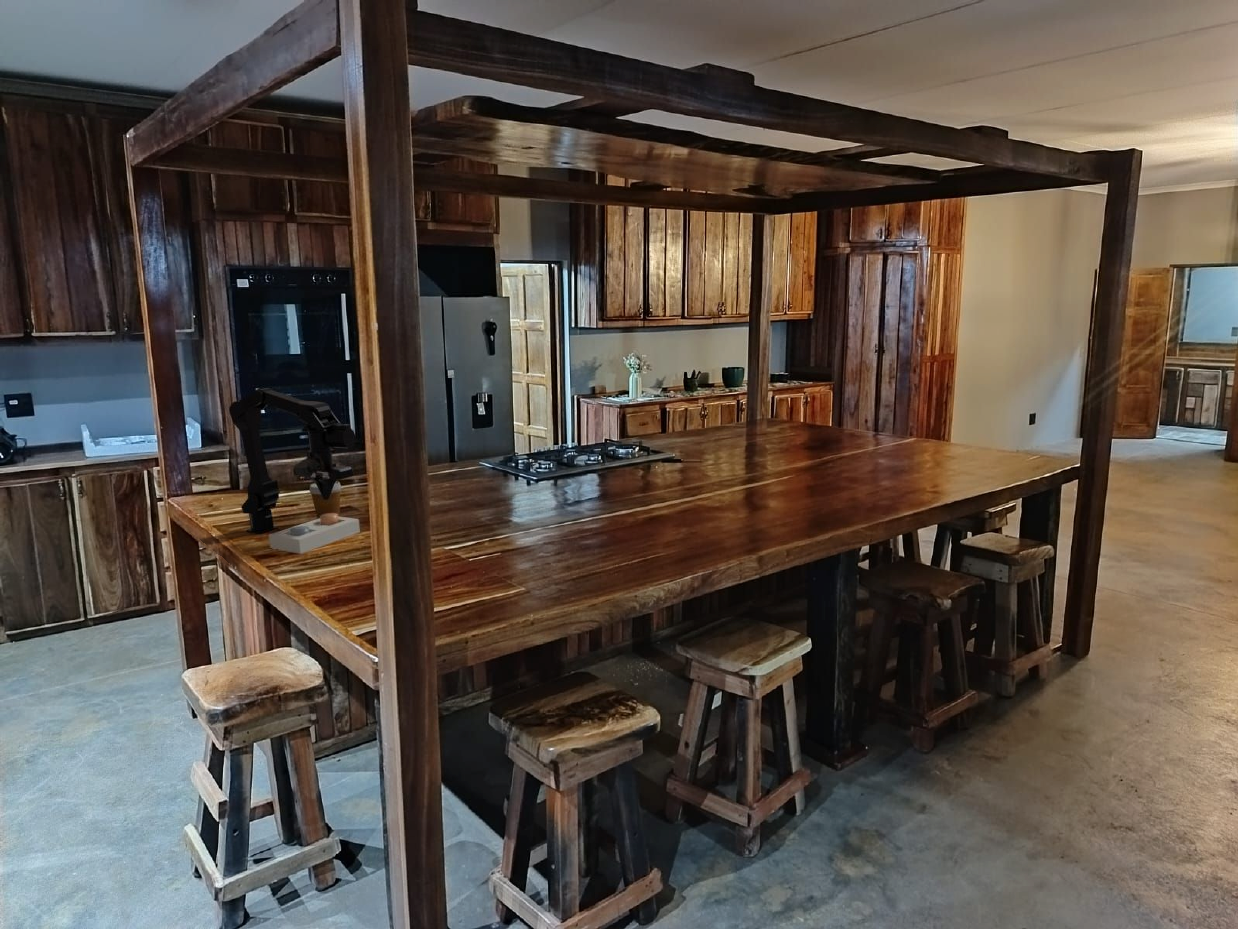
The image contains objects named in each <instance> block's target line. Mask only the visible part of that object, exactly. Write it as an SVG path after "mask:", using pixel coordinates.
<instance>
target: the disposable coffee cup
mask: <svg viewBox="0 0 1238 929" xmlns="http://www.w3.org/2000/svg"><path fill="white" fill-rule="evenodd" d="M342 487H343V486H342V485H341V483H340V481H338V480H336V482H335V484H334V486H333V489H332V492H331V494H330V497H329V499H328V500H324V499H323V497H322V495H321V493H320V491H319V489H318V487H317V485H316V483H315V482H313V483H311V484H310V485H309V492H310V495H311V498H312V499H311V500H312V503H313V507H314V510H315V515H316V519H319V518H320V516H321V515H323V514H327V513H337V514H338V516H339V517H341V516H340V515H341V514H340V512H341V490H342Z"/></svg>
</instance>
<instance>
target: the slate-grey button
mask: <svg viewBox="0 0 1238 929" xmlns="http://www.w3.org/2000/svg"><path fill="white" fill-rule="evenodd" d="M293 527H294V526H293ZM290 528H291V527H290ZM307 533H309V527H307V526H298V527H294V528H291V529H290V535H294V536H301V535H304V534H307Z"/></svg>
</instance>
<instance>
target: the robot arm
mask: <svg viewBox="0 0 1238 929" xmlns="http://www.w3.org/2000/svg"><path fill="white" fill-rule="evenodd" d="M267 406H268V407H272V408H275V409H278V410H281V411H283V412H287V413H290V414H293V415H295V416H296V417H297V418H298V419H299V420H300V421H302V422H303V423H305V424H306V425H305V426H304V427H303V428H302V429H301V432H302V433H308V440H309V441H308V442H309V449H310V450H309V451H306V458H305V459H303V460H301V461H299V462H298V463H297V464H295V465H294V466H293V476H297V478H306V479H308V480H311V481H312V482H313V483H316V485H317V487H318V489H319V491H320V493H321V495H322V497H323V499H324V500H328V499H329V497H330V494H331V492H332V489H333V486H334V484H335V482H336V481H339V480H344V479H348V478H352V477H354V469H353V468H352V467H351V466H346V465H340V466H337V463H335V462H334V461H333V454H335V453H336V451H335V450H336V449H335V448H337V449H352V448H354V447H355V444H356V442H357V441H356V440H357V439H356V438H357V436H356V435H357V434H356V433H355V431H354V430H353V428H351V426H350V423H345V424H341V422H340V421H339V419H338V418H337V417H336V415H335V414H334V412H333V411H332V410H331V409H332V408H330V405H329V404H328V403H326V402H322V401H317V400H316V401H312V400H310V401H309V400H302V399H299V398H297V397H293V396H290V395H287V394H285V393H282V392H278V391H276V390H273V389H272V388H269V387H266V388H260V389H256V390H255V391H253V392H252V393H250V394H249V395H247V396H245V397H243V398H241V399H239V400H236V401H233V402H232V403H231V405H230V406H228V411H229V415H230V418H231V420H232V421H231V422H232V424H233V425H234V426H235V427H236V428H237V429H238V430H239V431H240V435H241V440H242V444H243V450H244V455H245V459H246V464H247V467H248V473H249V478H250V480H249V482H248V486H247V488H246V490H247V499H246V500H245V501H244V502H243V504H242V506H240V507H241V508H240V509H241V510H242V514H246V515H247V514H248V517H249V526H250V528H247V529H246V530H245V531H246V532H248V533H255V534H263V533H266V532H267V533H268V532H270V531H273V530H276V529H278V527H279V526H277V525H274V517H273V514H272V513H273V512H272V509H273V508H274V509H275V508H276V506H277V502H278V500H279V498H280V494H281V491H280V489H279V482H278V480H277V479H275V480H273V479H272V478H271V476H270V475H269V473H268V468H267V463H266V459H265V454H264V449H263V442H262V439H261V434H260V424H261V421H262V417H263V416H262V411H263V410H264V409H266V407H267ZM333 448H334V449H333Z"/></svg>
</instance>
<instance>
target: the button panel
mask: <svg viewBox="0 0 1238 929" xmlns="http://www.w3.org/2000/svg"><path fill="white" fill-rule="evenodd" d="M338 520H339V523H336V524H333V525H330V526H326V525H321V521H320V518H319V519H317V518H316V519H314V520H310V521H308V522H304V523H301V524H298V525H295V526H292V527H289V528H286V529H282V530H279V531H276V532H273V533H270V534H268V540H269V548H273V550H276V549H278V551H283V552H289V553H293V554H294V553H295V554H299V555H300V554H301V555H302V554H304V553H307V552H310V551H313V550H315V549H318V548H320V547H324V546H326V545H329V544H331V543H334V542H337V541H339V540H340V541H341V540H342V539H345V538H348V537H351V536H353V535H356V534H359V533H361V530H360V520H359V519H358V518H353V517H346V516H345V517H344V516H340V517H339V516H338ZM298 526H307V527H309V533H307V534H304V535H301V536H294V535H290V529H291V528H294V527H298Z"/></svg>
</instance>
